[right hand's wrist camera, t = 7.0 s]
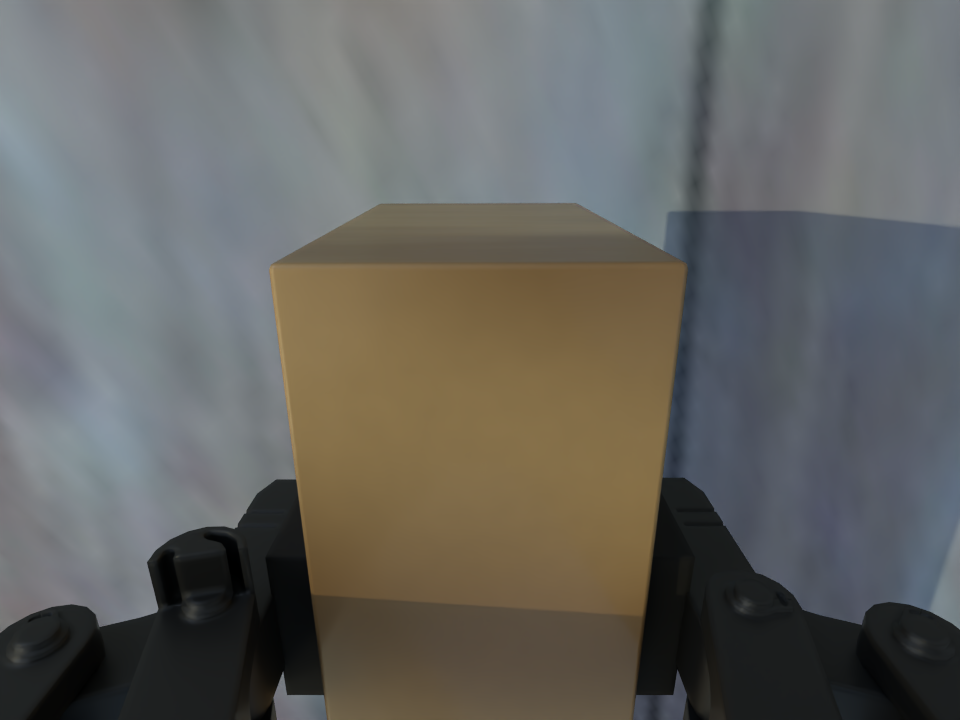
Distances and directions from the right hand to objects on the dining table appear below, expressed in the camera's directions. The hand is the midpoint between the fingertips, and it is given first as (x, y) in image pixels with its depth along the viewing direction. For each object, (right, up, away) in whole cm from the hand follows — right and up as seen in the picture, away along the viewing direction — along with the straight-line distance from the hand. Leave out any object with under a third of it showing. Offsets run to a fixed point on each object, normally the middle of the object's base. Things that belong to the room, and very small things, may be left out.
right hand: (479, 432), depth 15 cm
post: (0, -23, +9) cm, 24 cm away
